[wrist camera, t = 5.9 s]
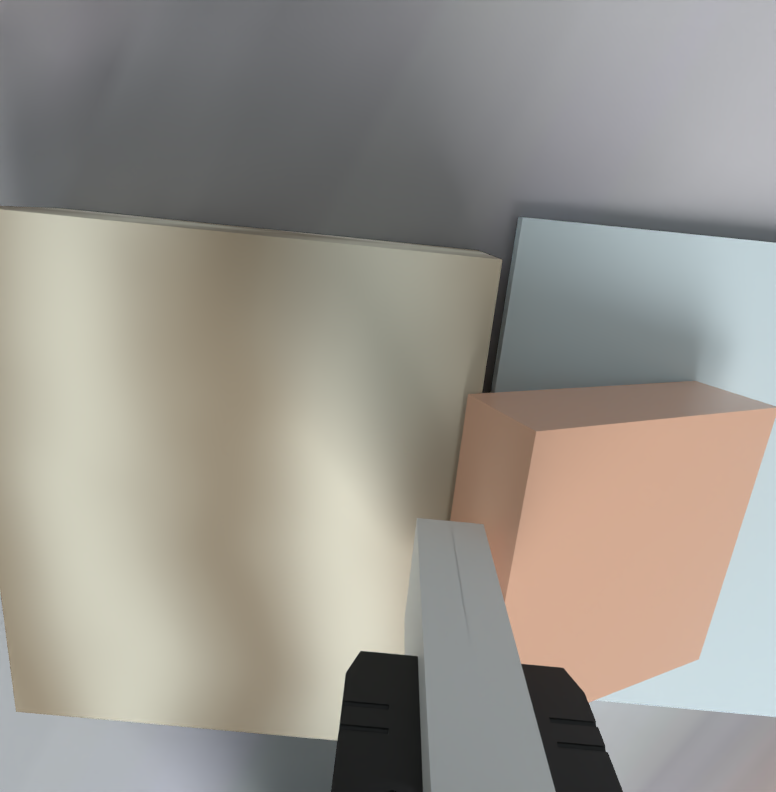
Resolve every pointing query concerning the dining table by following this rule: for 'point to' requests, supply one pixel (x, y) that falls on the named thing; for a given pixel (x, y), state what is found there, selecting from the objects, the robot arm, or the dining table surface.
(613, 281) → the rubber mat
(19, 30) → the dining table surface
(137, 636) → the birch board
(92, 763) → the dining table surface
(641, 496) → the terracotta tile
